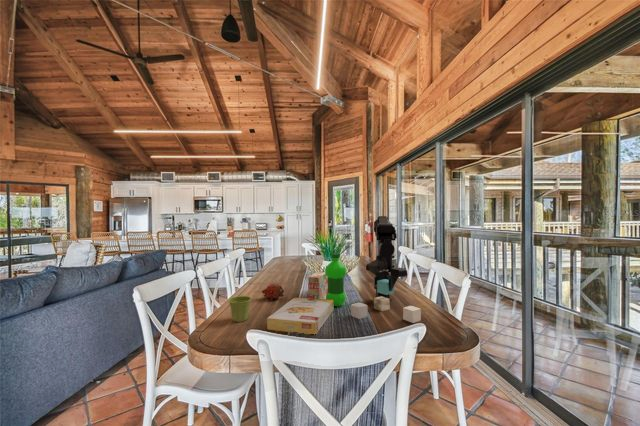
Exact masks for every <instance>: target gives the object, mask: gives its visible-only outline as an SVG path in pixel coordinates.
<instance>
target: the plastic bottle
mask: <svg viewBox="0 0 640 426" xmlns="http://www.w3.org/2000/svg"><path fill="white" fill-rule="evenodd" d="M330 256H331V259H332V261H330V262H329V263H328V264H327V266H325V269H324V273H325V274H326V276H327V277H328V292H327V295H326V296H325V299H330V300H333V303H334V306H339V307H341V306H342V305H343V304H344V303H345V301H346V299H347V295H346V293H345V279H344V278H345V276H346V275H347V267H346V265H344V263H342V262H341V261H340V258H341V254H340V253H339V252H337V253H336V252H335V253H331V254H330ZM340 305H341V306H340Z"/></svg>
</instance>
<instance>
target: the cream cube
mask: <svg viewBox="0 0 640 426" xmlns="http://www.w3.org/2000/svg"><path fill="white" fill-rule="evenodd" d="M402 310H403V311H402V313H403V314H402V318H403V319H402V320H404V321H405V322H409V323H412V324H414V323H415V324H416V323H418V322H420V321H421V320H422V316H421V315H422V311H421V310H422V309H421V308H419V307H417V306H413V305H408V306H405V307H403V309H402Z"/></svg>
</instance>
